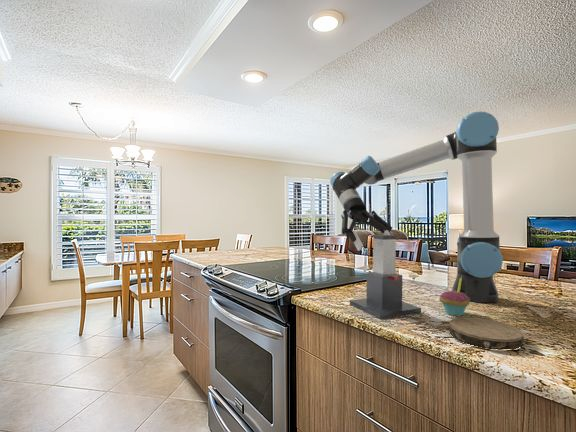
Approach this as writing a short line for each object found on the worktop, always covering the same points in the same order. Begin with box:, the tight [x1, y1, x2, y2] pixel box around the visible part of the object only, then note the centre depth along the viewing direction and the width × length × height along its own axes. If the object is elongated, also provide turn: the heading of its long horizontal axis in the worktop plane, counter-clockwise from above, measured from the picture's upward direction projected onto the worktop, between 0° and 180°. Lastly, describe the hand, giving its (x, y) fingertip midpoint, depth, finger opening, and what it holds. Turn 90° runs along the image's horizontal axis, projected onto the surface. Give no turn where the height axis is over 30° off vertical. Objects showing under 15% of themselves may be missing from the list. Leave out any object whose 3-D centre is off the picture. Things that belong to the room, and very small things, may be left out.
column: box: [372, 234, 397, 276], centre depth 106 cm, size 5×5×22 cm
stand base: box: [349, 271, 422, 320], centre depth 106 cm, size 16×16×12 cm
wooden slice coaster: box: [449, 316, 524, 349], centre depth 81 cm, size 16×16×3 cm
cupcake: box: [438, 276, 471, 317], centre depth 100 cm, size 9×8×12 cm
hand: (377, 247), depth 108 cm, fingers open, 13 cm apart
